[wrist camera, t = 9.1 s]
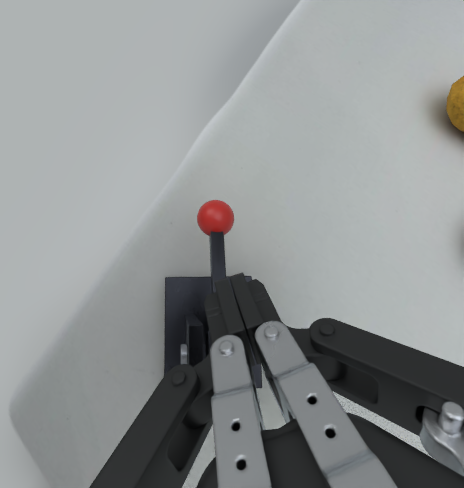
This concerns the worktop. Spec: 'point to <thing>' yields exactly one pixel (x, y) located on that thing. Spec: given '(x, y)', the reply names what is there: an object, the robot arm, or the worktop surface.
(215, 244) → the clamp lever
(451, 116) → the potato
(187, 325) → the lever base bracket
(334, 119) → the worktop surface
